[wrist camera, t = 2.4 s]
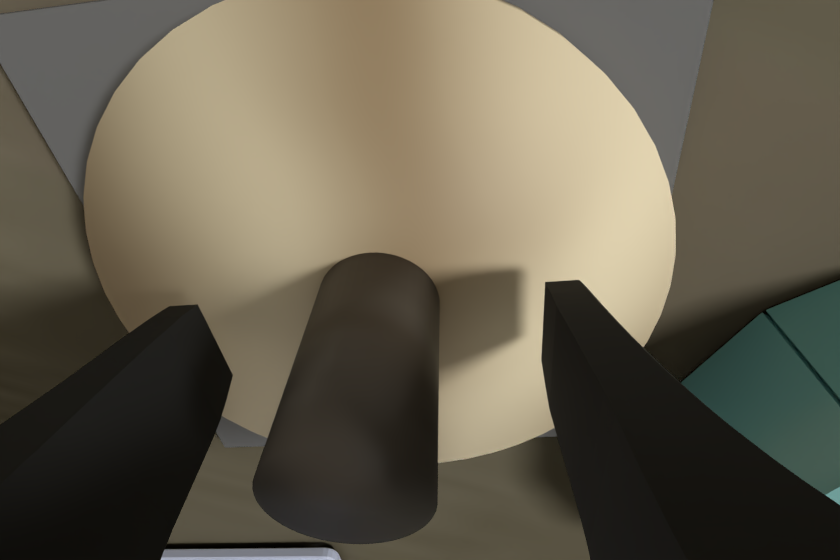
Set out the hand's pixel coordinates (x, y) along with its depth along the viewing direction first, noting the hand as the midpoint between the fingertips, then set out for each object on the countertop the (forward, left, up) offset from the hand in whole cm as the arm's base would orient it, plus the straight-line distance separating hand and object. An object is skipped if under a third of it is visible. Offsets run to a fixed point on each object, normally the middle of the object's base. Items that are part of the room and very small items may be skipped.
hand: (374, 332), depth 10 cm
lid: (0, 0, -2) cm, 2 cm away
